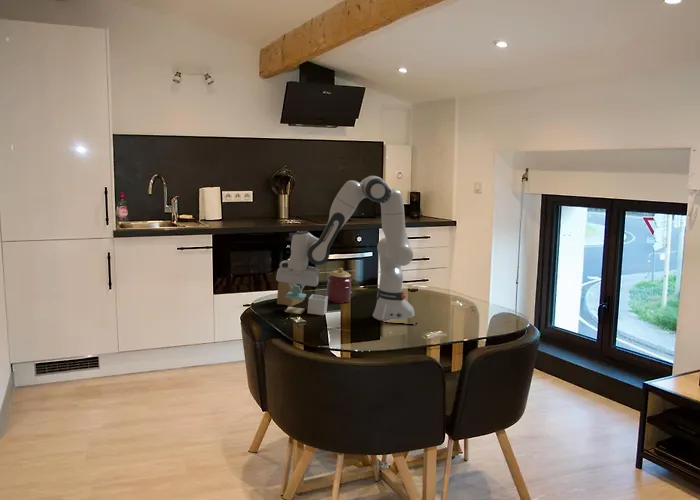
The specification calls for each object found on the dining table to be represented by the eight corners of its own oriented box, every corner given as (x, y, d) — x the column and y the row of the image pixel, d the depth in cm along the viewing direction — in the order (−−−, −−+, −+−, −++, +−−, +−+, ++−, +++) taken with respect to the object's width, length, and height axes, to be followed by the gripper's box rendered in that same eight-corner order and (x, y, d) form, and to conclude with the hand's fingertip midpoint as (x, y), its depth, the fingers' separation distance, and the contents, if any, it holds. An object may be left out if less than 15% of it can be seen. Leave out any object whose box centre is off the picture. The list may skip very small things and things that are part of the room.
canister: (349, 304, 329) (353, 271, 326) (324, 302, 329) (328, 269, 326) (350, 298, 342) (353, 266, 338) (326, 295, 342) (329, 263, 338)
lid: (306, 295, 309) (307, 286, 308) (302, 300, 301) (303, 290, 300) (289, 293, 310) (290, 283, 309) (284, 297, 302) (285, 287, 301)
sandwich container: (306, 301, 328) (308, 273, 325) (291, 307, 314) (293, 278, 311) (291, 298, 331) (294, 270, 328) (276, 304, 317) (278, 275, 314)
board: (304, 310, 311) (304, 308, 310) (300, 315, 303) (300, 313, 303) (288, 308, 312) (288, 306, 311) (284, 312, 304) (284, 310, 304)
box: (326, 312, 312) (328, 296, 311) (323, 316, 304) (325, 300, 303) (310, 309, 313) (312, 294, 312) (307, 314, 305) (308, 298, 304)
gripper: (321, 266, 304) (318, 294, 307) (279, 260, 307) (277, 288, 310) (318, 268, 298) (315, 297, 301) (276, 263, 301) (274, 291, 304)
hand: (296, 292), depth 305 cm, fingers closed on lid, 2 cm apart
